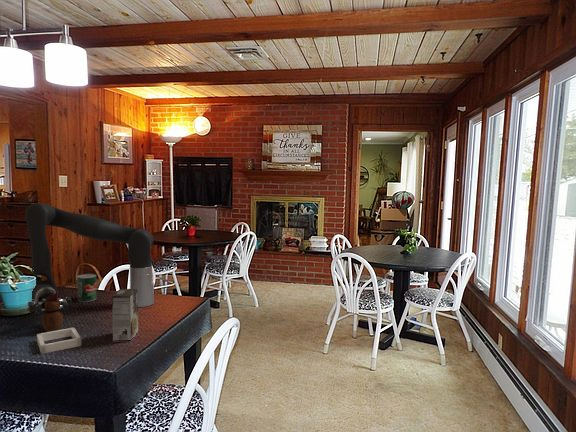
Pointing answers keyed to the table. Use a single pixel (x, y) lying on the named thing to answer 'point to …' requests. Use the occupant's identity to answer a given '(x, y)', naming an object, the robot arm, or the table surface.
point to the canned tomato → (86, 287)
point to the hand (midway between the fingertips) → (53, 309)
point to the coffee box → (125, 314)
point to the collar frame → (61, 344)
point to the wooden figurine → (52, 314)
